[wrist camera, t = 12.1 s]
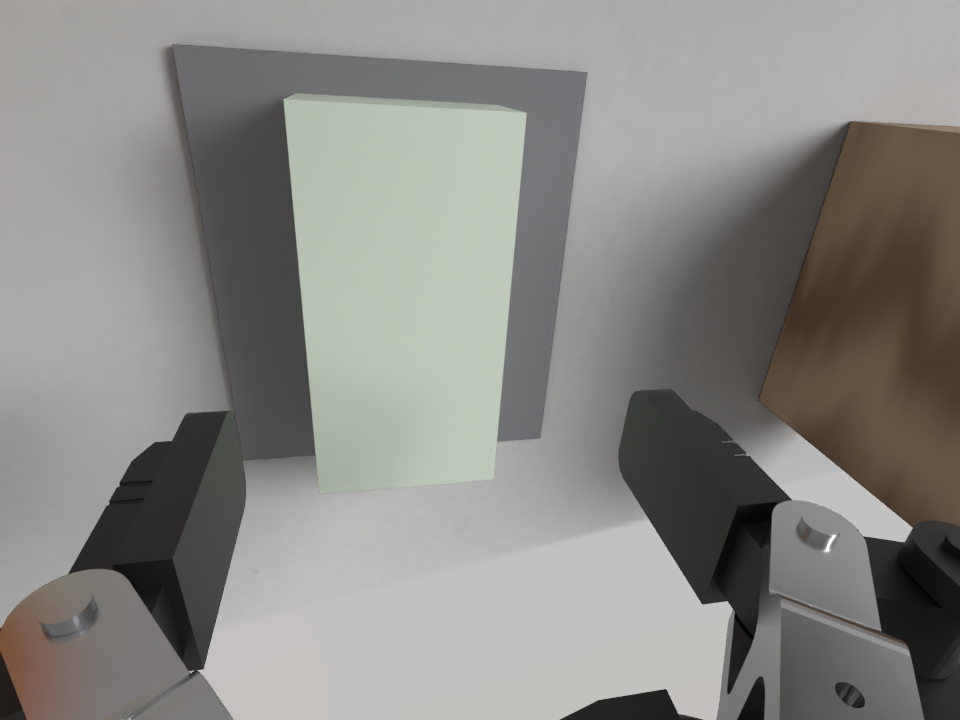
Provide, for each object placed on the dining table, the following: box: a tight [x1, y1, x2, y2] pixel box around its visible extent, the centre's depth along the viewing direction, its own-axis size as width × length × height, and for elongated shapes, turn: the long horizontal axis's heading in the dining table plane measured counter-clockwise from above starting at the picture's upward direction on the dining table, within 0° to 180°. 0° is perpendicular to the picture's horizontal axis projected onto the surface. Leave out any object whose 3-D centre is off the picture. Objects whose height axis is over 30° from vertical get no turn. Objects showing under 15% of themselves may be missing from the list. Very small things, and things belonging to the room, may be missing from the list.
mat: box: [172, 44, 587, 460], centre depth 20 cm, size 14×12×1 cm
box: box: [758, 121, 960, 527], centre depth 19 cm, size 12×5×10 cm, turn 177°
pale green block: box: [283, 93, 527, 494], centre depth 18 cm, size 12×6×4 cm, turn 177°
